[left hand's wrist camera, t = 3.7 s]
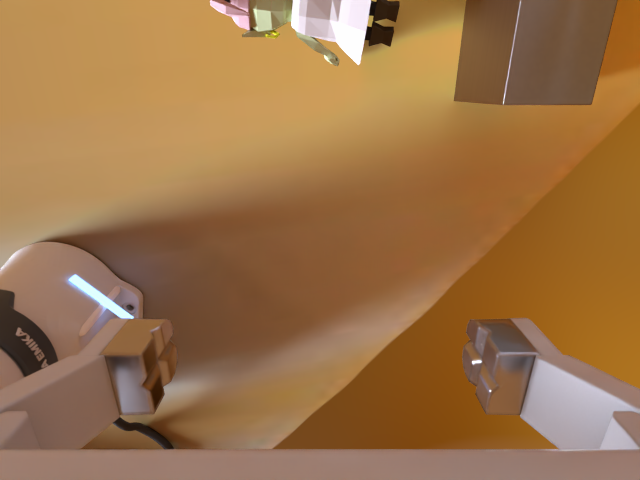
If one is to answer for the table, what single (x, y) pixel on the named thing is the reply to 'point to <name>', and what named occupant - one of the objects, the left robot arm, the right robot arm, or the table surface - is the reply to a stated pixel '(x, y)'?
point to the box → (532, 51)
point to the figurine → (316, 21)
